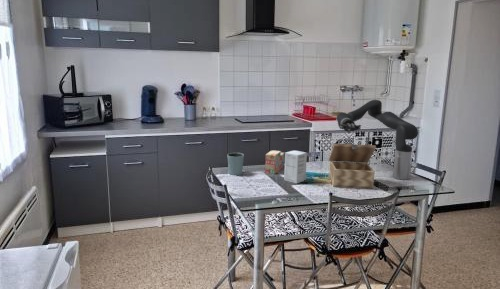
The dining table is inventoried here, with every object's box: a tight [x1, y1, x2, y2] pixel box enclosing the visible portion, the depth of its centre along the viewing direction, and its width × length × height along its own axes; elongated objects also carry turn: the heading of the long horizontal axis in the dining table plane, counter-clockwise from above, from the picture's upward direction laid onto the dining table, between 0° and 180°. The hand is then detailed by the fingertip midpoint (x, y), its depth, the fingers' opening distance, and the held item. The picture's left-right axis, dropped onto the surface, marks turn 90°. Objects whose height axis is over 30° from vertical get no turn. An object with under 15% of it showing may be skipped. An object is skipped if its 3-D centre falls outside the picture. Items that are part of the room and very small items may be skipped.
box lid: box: [328, 143, 377, 164], centre depth 219 cm, size 23×20×3 cm
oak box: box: [328, 161, 375, 190], centre depth 220 cm, size 22×18×10 cm
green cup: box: [227, 152, 245, 176], centre depth 231 cm, size 10×10×12 cm
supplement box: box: [283, 150, 308, 184], centre depth 221 cm, size 10×9×17 cm
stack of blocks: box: [264, 149, 285, 175], centre depth 243 cm, size 21×6×12 cm, turn 158°
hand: (353, 129), depth 218 cm, fingers closed
